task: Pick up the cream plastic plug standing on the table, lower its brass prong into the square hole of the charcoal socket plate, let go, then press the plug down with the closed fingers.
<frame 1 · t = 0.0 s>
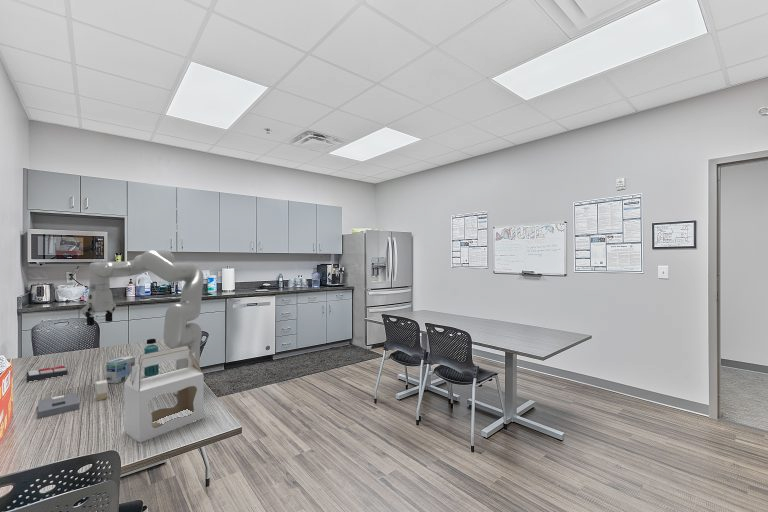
hand: (99, 323, 167), 31 cm above the table, tool pointing down, fingers open, 9 cm apart
light bulb box: (121, 380, 179), on the table
gable box: (165, 425, 130), on the table
beverage bottle: (151, 377, 182), on the table
socket plate: (58, 407, 146), on the table
plug: (101, 398, 155), on the table
sushi tray: (47, 377, 185), on the table
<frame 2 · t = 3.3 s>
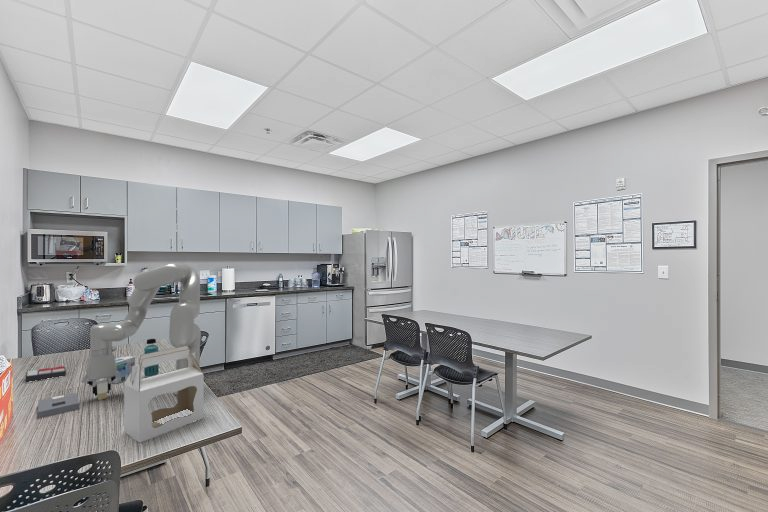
hand: (101, 393, 155), 2 cm above the table, tool pointing down, fingers closed on plug, 3 cm apart
plug: (102, 398, 155), on the table, touching gripper
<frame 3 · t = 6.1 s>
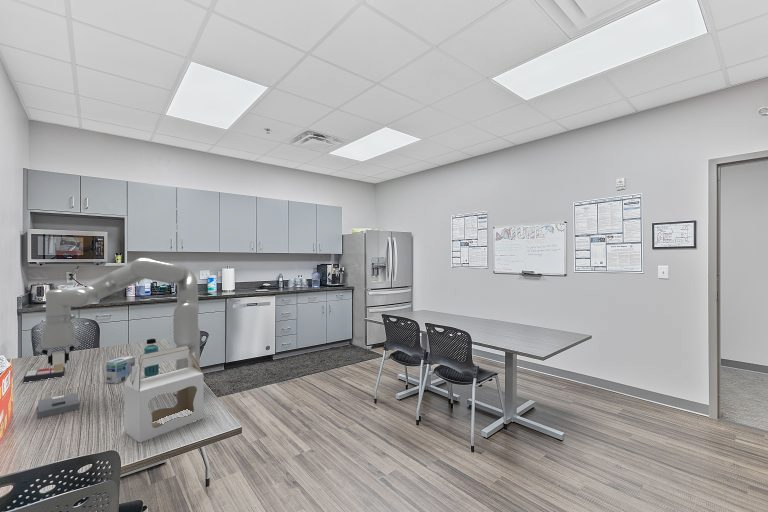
hand: (58, 363, 144), 19 cm above the table, tool pointing down, fingers closed on plug, 3 cm apart
plug: (58, 370, 144), point 16 cm above the table, touching gripper
when the fingers open (4 cm above the table, at t = 9.2 s): plug stays where it is, resting in socket plate.
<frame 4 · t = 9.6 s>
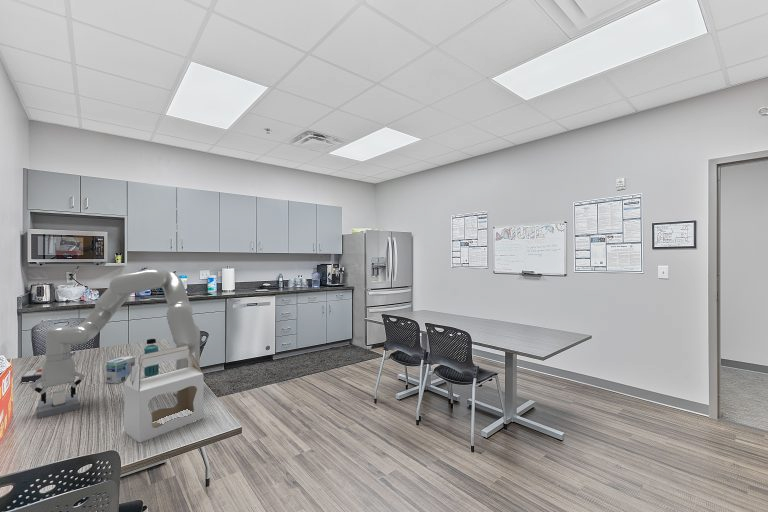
hand: (58, 399, 143), 4 cm above the table, tool pointing down, fingers open, 7 cm apart
plug: (59, 409, 143), resting in socket plate
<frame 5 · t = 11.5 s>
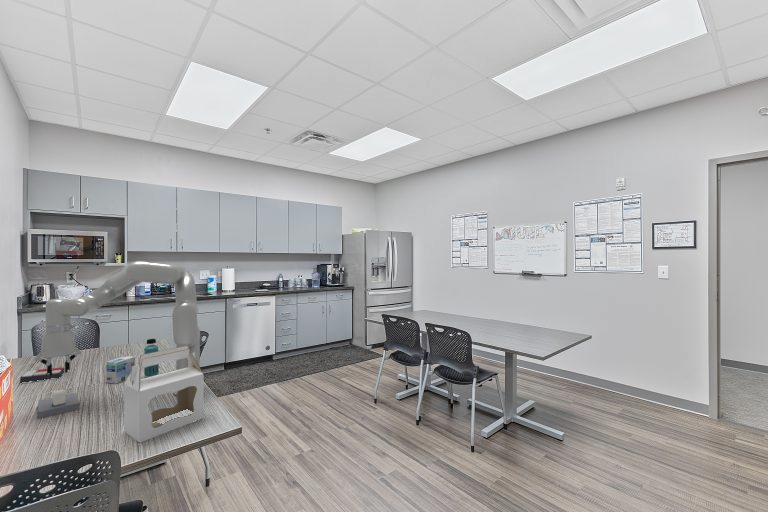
hand: (58, 372, 144), 15 cm above the table, tool pointing down, fingers open, 4 cm apart
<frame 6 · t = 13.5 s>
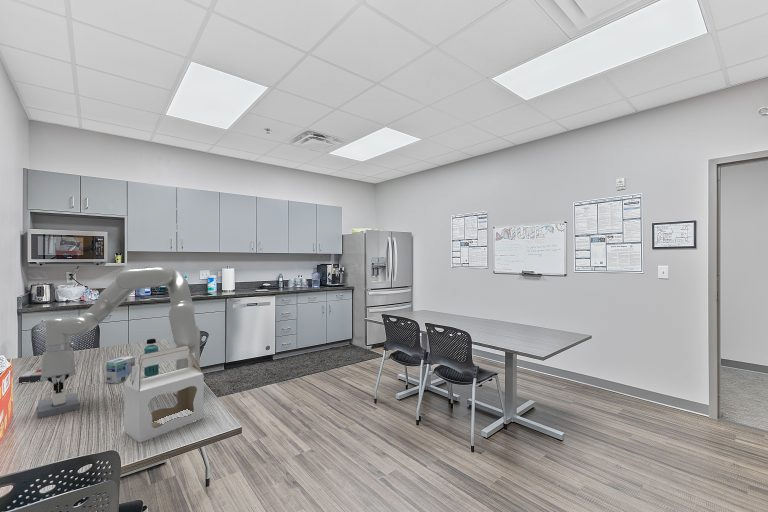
hand: (58, 391, 143), 7 cm above the table, tool pointing down, fingers closed
plug: (59, 409, 143), resting in socket plate, touching gripper
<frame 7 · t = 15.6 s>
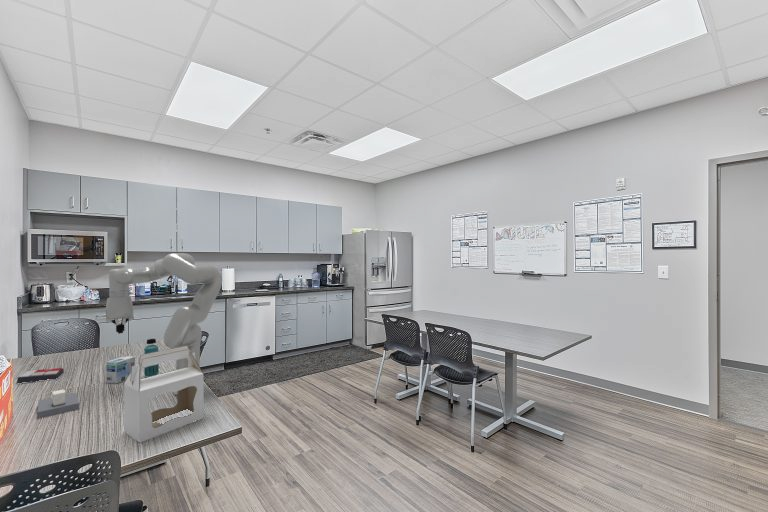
hand: (120, 332, 166), 27 cm above the table, tool pointing down, fingers closed
plug: (59, 409, 143), resting in socket plate
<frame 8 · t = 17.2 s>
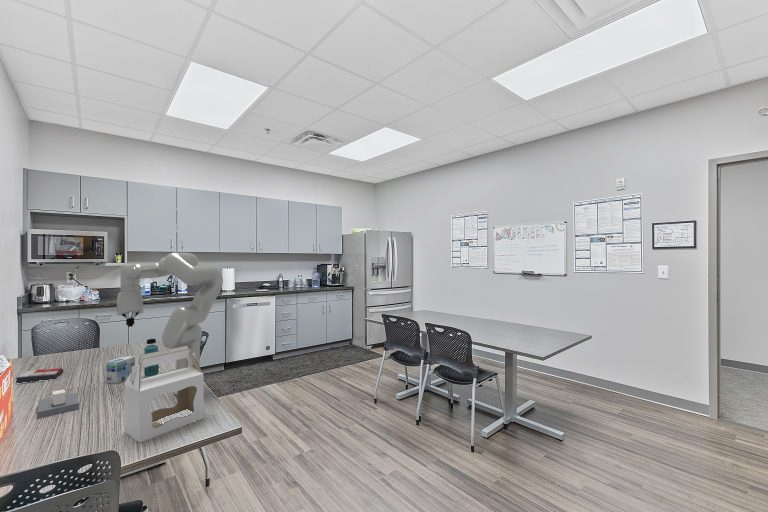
hand: (130, 326, 170), 29 cm above the table, tool pointing down, fingers closed
at the end: plug 0.1 cm from the target spot on the socket plate, point 0.0 cm above the socket plate's base; plug tilted 0°; the gripper is holding nothing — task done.
